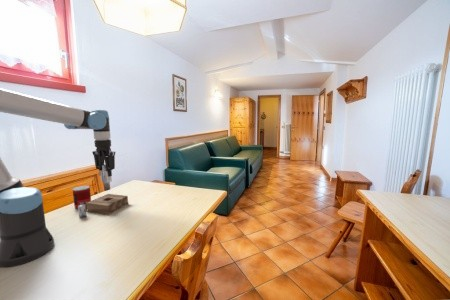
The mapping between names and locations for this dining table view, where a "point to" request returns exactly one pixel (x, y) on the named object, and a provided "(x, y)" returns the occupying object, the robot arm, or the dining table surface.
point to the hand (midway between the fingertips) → (106, 181)
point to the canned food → (81, 195)
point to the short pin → (82, 211)
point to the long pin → (106, 185)
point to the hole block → (107, 204)
